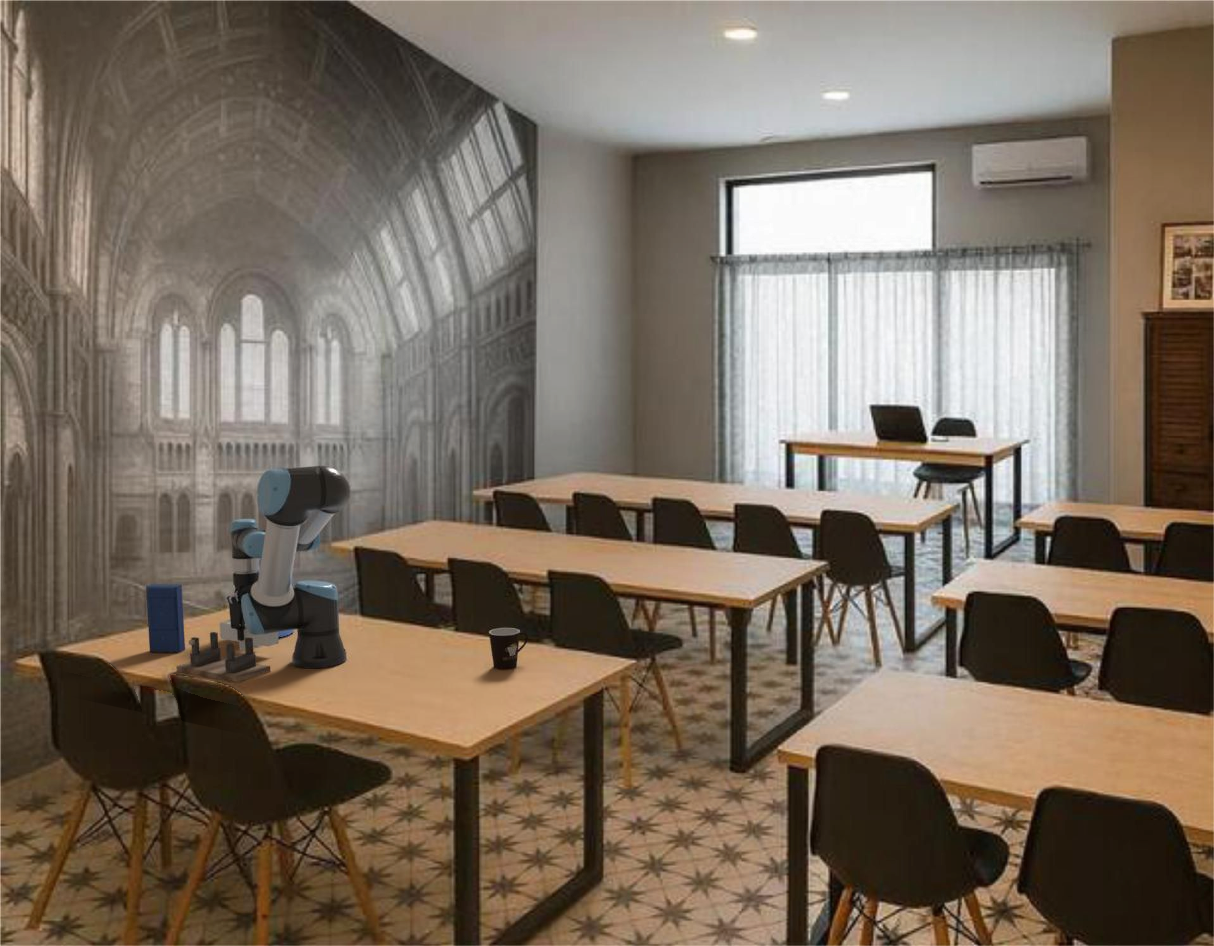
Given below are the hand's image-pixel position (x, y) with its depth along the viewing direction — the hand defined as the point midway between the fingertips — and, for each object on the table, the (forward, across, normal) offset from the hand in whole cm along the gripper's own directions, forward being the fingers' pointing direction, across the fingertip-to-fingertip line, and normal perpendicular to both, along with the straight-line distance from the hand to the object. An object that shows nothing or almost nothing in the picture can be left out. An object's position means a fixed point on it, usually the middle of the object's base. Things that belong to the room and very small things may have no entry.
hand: (249, 648), depth 337 cm
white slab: (-2, 0, 0) cm, 2 cm away
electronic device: (+1, +10, -24) cm, 26 cm away
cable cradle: (+1, +18, +9) cm, 20 cm away
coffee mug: (+1, -23, +78) cm, 81 cm away
